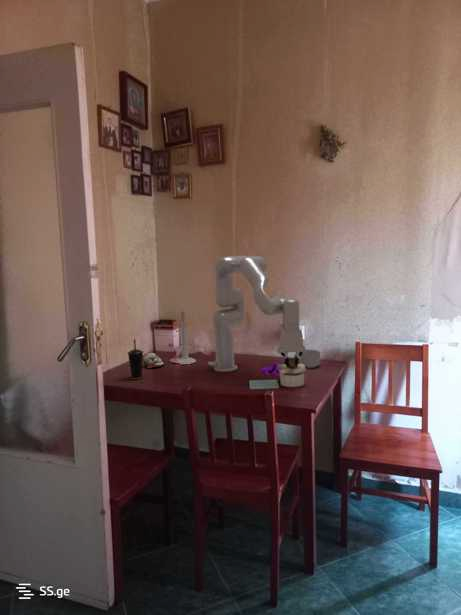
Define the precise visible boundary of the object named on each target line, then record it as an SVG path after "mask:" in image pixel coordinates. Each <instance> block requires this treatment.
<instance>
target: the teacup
mask: <svg viewBox="0 0 461 615" xmlns="http://www.w3.org/2000/svg"><path fill="white" fill-rule="evenodd" d="M306 350H307V351H306V352H305V353H303V354H302V355H301V356H300V357H299V364H304V366H305V368H306V369H313V368H317V367H318V366H319V365H320V364H321V354H322V352H321V351H320V350H316V349H311V348H310V349H309V348H308V349H306ZM295 357H296V352H294V355H293V358H295Z"/></svg>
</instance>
